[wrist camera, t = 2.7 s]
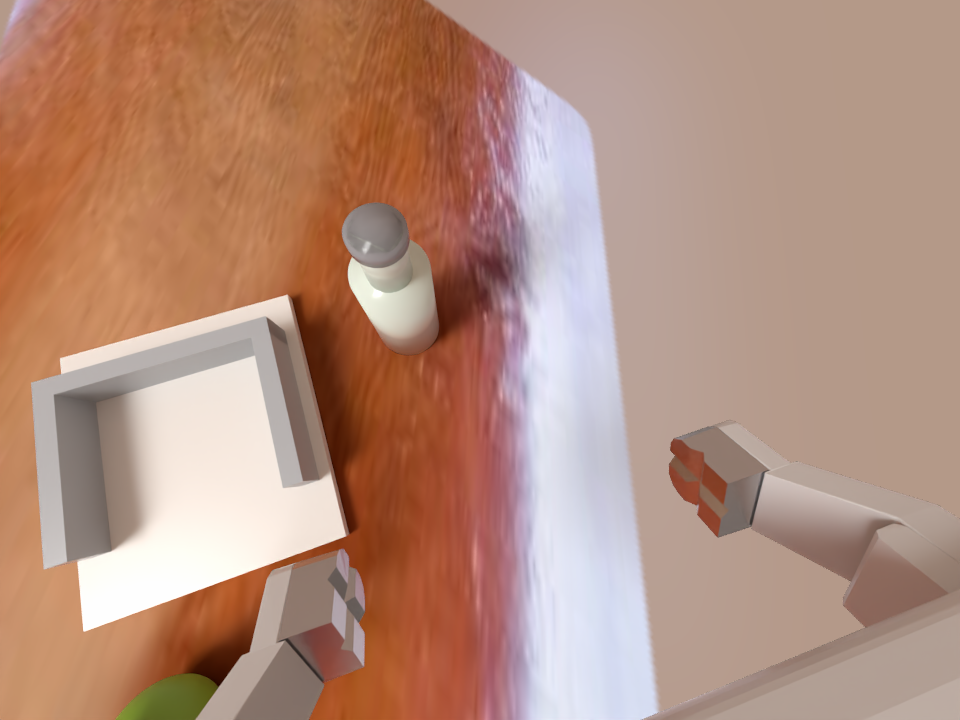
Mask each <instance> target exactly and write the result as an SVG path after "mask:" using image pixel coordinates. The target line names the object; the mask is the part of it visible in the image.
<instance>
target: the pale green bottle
mask: <svg viewBox="0 0 960 720" xmlns="http://www.w3.org/2000/svg"><path fill="white" fill-rule="evenodd" d="M342 236H343V240H344V243H345V245H346V247H347V249H348V251H349V253H350V254H351V256H352V259H351V261H350V264H349V268H348V280H349V284H350V287H351V289H352V291H353V292H354V294H355V296H356V297H357V299H358V301H359V302H360V304H361V306H362V307H363V309H364V311H365V312H366V314H367V316H368V317H369V319H370V321H371V322H372V324H373V326H374V327H375V329H376V331H377V332H378V334H379V336H380V337H381V339H382V341H383V342H384V344H385V345H386V346H387V347H388V348H389V349H390V350H392V351H394V352H395V353H398V354H401V355H415V354H419V353H422V352H423V351H425V350H427V349H428V348H429V347H430V346H431V345H432V344H433V343H434V342H435V340H436V338H437V336H438V332H439V320H438V314H437V307H436V300H435V293H434V287H433V280H432V273H431V266H430V262H429V259H428V257H427V255H426V253H425V252H424V250H423V249H422V248H421V247H420V246H419V245H418V244H416V243H415V242H413V241H412V240H410V237H409V232H408V227H407V223H406V220H405V218H404V217H403V215H402V214H401V213H400V212H399V211H398V210H397V209H395V208H394V207H392V206H390V205H387V204H383V203H369V204H365V205H362V206H360V207H358V208H356V209H355V210H353V211H352V212H351V213H350V214H349V215H348V217H347V218H346V220H345V222H344V224H343V228H342Z"/></svg>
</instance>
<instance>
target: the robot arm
mask: <svg viewBox="0 0 960 720" xmlns="http://www.w3.org/2000/svg"><path fill="white" fill-rule="evenodd" d="M670 450H671V452H672V453H673V454H674V455H675V456H674V458H673V459H672V461H671V462H670V463H669V475H670V478H671V480H672V483H673V485H674V487H675V488H676V490H677V492H678V493H679V494H680V495H681V497H682V498H683V499H684V500H685V501H688V502H690V503H692V504H695V505H697V515H698V516H699V517H700V518H701V519H702V521H703V522H704V523H705V524H706V525H707V526H708V527H709V528H710V530H711V531H712V532H713V533H714V534H715V535H716V536H717V537H721V536H724V535H727V534H730V533H733V532H737V531H740V530H742V529H745V528H749V527H751V529H753V530H754V531H756V532H758V533H760V534H762V535H764V536H766V537H768V538H770V539H772V540H774V541H775V542H777V543H779V544H781V545H783V546H785V547H787V548H789V549H791V550H792V551H794V552H796V553H798V554H800V555H802V556H804V557H806V558H807V559H809V560H811V561H813V562H815V563H817V564H819V565H821V566H823V567H825V568H826V569H828V570H830V571H832V572H834V573H836V574H838V575H840V576H842V577H844V578H845V579H847V580H849V581H851V583H850V585H849V587H848V589H847V591H846V593H845V595H844V597H843V606H844V607H846V608H847V610H848V611H849V612H851V614H853V615H854V617H856V619H858V621H860V622H861V623H862V624H863V625H864V626H865V627H866V628H863V629H861V630H859V631H856V632H854V633H851V634H849V635H846V636H844V637H841V638H839V639H837V640H834V641H832V642H829V643H827V644H824V645H822V646H820V647H817V648H815V649H813V650H810V651H807V652H805V653H802V654H800V655H798V656H795V657H793V658H790V659H788V660H785V661H783V662H781V663H778V664H776V665H773V666H771V667H769V668H766V669H764V670H761V671H759V672H757V673H754V674H752V675H749V676H747V677H744V678H742V679H739V680H737V681H734V682H732V683H730V684H727V685H725V686H722V687H720V688H717V689H715V690H713V691H710V692H708V693H705V694H703V695H701V696H698V697H696V698H693V699H691V700H688V701H686V702H683V703H681V704H678V705H676V706H674V707H671V708H669V709H666V710H664V711H661V712H659V713H657V714H654V715H652V716H649V717H647V718H644V719H642V720H960V518H958V517H956V516H955V515H953V514H952V513H950V512H949V511H947V510H945V509H944V508H942V507H941V506H939V505H937V504H933V503H930V502H927V501H924V500H921V499H917V498H914V497H911V496H908V495H904V494H901V493H898V492H895V491H892V490H888V489H885V488H882V487H878V486H875V485H872V484H869V483H866V482H862V481H859V480H856V479H852V478H850V477H846V476H843V475H840V474H837V473H833V472H830V471H827V470H823V469H820V468H817V467H814V466H811V465H807V464H804V463H801V462H798V461H796V462H793V463H790V462H789V461H788V460H786V459H785V458H784V457H782V456H781V455H780V454H778V453H777V452H776V451H774V450H773V449H772V448H770V447H769V446H768V445H767V444H765V443H764V442H762V441H761V440H760V439H759V438H757V437H756V436H755V435H753V434H752V433H751V432H749V431H748V430H746V429H745V428H744V427H743V426H741V425H740V424H739V423H737V422H735V421H732V420H728V421H725V422H722V423H719V424H716V425H713V426H710V427H706V428H703V429H700V430H697V431H694V432H691V433H688V434H686V435H683V436H680V437H677V438H674V439H673V441H672V442H671V448H670ZM364 613H365V597H364V590H363V584H362V581H361V578H360V575H359V574H358V572H357V570H356V569H354V568H351V567H349V557H348V555H347V554H346V552H345V551H344V549H340V550H337V551H333V552H330V553H327V554H323V555H320V556H317V557H313V558H310V559H307V560H303V561H300V562H297V563H294V564H291V565H288V566H284V567H281V568H278V569H275V570H272V572H271V573H270V575H269V577H268V578H267V582H266V586H265V590H264V594H263V598H262V603H261V607H260V611H259V615H258V619H257V623H256V627H255V632H254V636H253V640H252V644H251V648H250V652H249V653H247V654H244V655H242V656H241V657H240V659H239V660H238V661H237V663H236V664H235V666H234V667H233V668H232V670H231V671H230V673H229V674H228V675H227V677H226V678H225V679H224V681H223V682H222V684H221V685H220V686H219V688H218V689H217V691H216V692H215V693H214V695H213V696H212V697H211V699H210V700H209V702H208V703H207V704H206V706H205V707H204V709H203V710H202V711H201V713H200V714H199V715H198V717H197V718H196V720H309V718H310V716H311V714H312V711H313V709H314V707H315V705H316V703H317V700H318V698H319V696H320V694H321V692H322V690H323V687H324V684H323V683H324V682H327V681H329V680H332V679H334V678H337V677H339V676H342V675H344V674H347V673H349V672H352V671H354V670H357V669H360V668H362V667H364V638H365V633H364V631H363V630H362V628H361V627H360V625H359V624H358V623H359V622H360V620H361V618H362V616H363V614H364Z"/></svg>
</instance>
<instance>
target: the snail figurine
mask: <svg viewBox="0 0 960 720" xmlns="http://www.w3.org/2000/svg"><path fill="white" fill-rule="evenodd" d="M218 688H219V687H218V686H217V685H216V684H215V683H214V682H213V681H212V680H210V679H209V678H207V677H205V676H202V675H199V674H192V673H186V674H178V675H174V676H170V677H168V678H165V679H163V680H160V681H158V682H156V683H155V684H153V685H151V686H150V687H148V688H147V689H145V690H144V691H142V692H141V693H140V694H139V695H137V696H136V697H135V698H134V699H133V700H132V701H131V702H130V703H129V704H128V705H127V706H126V707H125V708H124V709H123V710H122V712H121V713H120V714H119V715H118V717H117V718H116V720H196V718H197V717H198V715H199V714H200V713H201V711H202V710H203V709H204V707H205V706H206V704H207V703H208V702H209V700H210V699H211V697H212V696H213V695H214V693H215V692H216V691H217V689H218Z"/></svg>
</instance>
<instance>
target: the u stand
mask: <svg viewBox="0 0 960 720" xmlns="http://www.w3.org/2000/svg"><path fill="white" fill-rule="evenodd" d="M60 364H61V374H60V375H57V376H53V377H49V378H46V379H42V380H39V381H35V382H32V383H31V386H32V401H33V416H34V431H35V446H36V461H37V476H38V491H39V506H40V521H41V536H42V551H43V566H44V569H49V568H53V567H57V566H61V565H65V564H70V563H74V562H78V572H79V584H80V596H81V607H82V619H83V630H84V631H87V630H90V629H93V628H95V627H98V626H101V625H104V624H106V623H109V622H112V621H115V620H117V619H120V618H123V617H126V616H128V615H131V614H134V613H137V612H139V611H142V610H145V609H148V608H150V607H153V606H156V605H159V604H161V603H164V602H167V601H170V600H172V599H175V598H178V597H181V596H183V595H186V594H189V593H192V592H194V591H197V590H200V589H203V588H205V587H208V586H211V585H213V584H216V583H219V582H222V581H224V580H227V579H230V578H233V577H235V576H238V575H241V574H244V573H246V572H249V571H252V570H255V569H257V568H260V567H263V566H266V565H268V564H271V563H274V562H277V561H279V560H282V559H285V558H288V557H290V556H293V555H296V554H299V553H301V552H304V551H307V550H310V549H312V548H315V547H318V546H321V545H323V544H326V543H329V542H332V541H334V540H337V539H340V538H343V537H345V536H347V535H349V531H348V527H347V523H346V519H345V515H344V511H343V507H342V503H341V498H340V494H339V490H338V486H337V482H336V478H335V474H334V470H333V466H332V462H331V458H330V453H329V449H328V445H327V441H326V437H325V433H324V429H323V425H322V421H321V417H320V413H319V408H318V404H317V400H316V396H315V392H314V388H313V384H312V380H311V376H310V372H309V368H308V363H307V359H306V355H305V351H304V347H303V343H302V339H301V335H300V331H299V327H298V323H297V318H296V314H295V310H294V306H293V302H292V299H291V298H290V297H289V296H288V295H285V296H282V297H278V298H274V299H271V300H267V301H264V302H260V303H256V304H253V305H249V306H246V307H242V308H239V309H235V310H231V311H228V312H224V313H221V314H217V315H214V316H210V317H206V318H203V319H199V320H196V321H192V322H188V323H185V324H181V325H178V326H174V327H171V328H167V329H163V330H160V331H156V332H153V333H149V334H145V335H142V336H138V337H135V338H131V339H128V340H124V341H120V342H117V343H113V344H110V345H106V346H103V347H99V348H95V349H92V350H88V351H85V352H81V353H77V354H74V355H70V356H67V357H63V358H60Z"/></svg>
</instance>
